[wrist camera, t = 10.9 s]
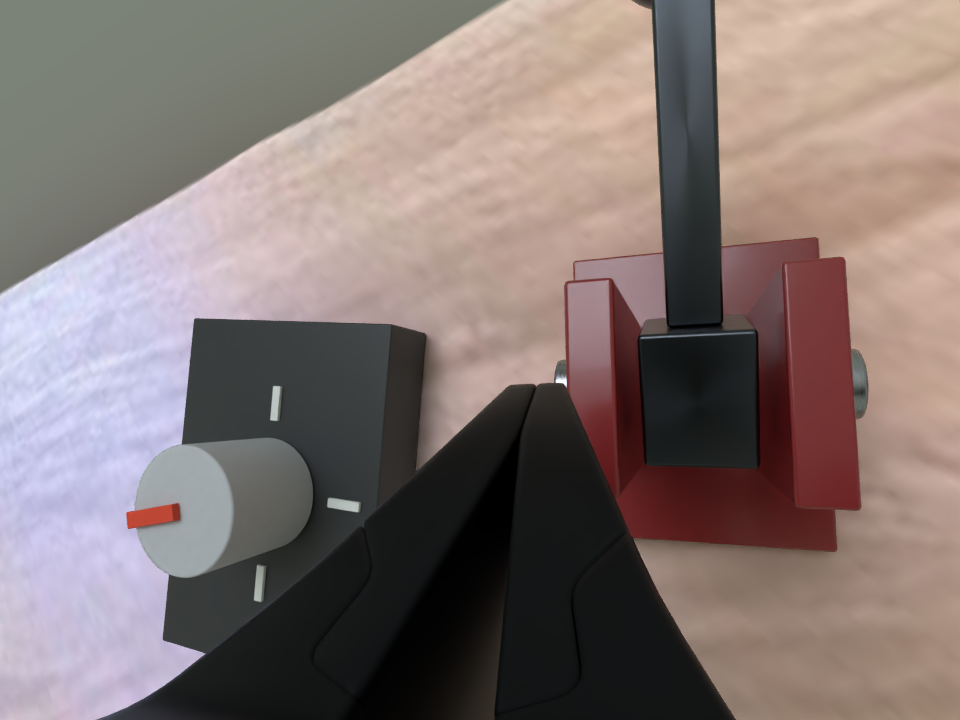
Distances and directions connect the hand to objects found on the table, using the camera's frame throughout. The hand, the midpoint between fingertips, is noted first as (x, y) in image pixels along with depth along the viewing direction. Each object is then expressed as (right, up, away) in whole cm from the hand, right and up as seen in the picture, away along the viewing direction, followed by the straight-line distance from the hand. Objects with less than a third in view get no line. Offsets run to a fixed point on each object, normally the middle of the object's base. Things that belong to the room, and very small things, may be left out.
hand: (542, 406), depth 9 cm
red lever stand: (+7, -1, +12) cm, 13 cm away
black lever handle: (+4, +5, +4) cm, 7 cm away
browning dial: (-9, -5, +14) cm, 18 cm away
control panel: (-8, -5, +17) cm, 20 cm away
